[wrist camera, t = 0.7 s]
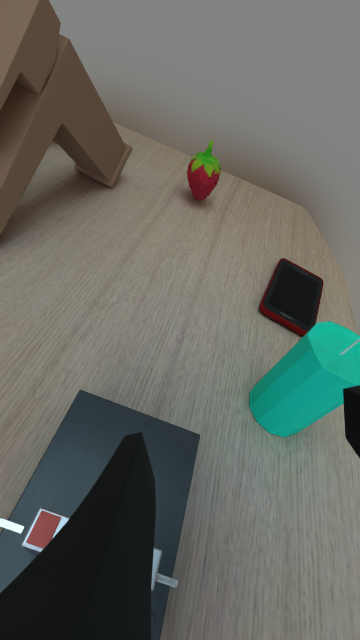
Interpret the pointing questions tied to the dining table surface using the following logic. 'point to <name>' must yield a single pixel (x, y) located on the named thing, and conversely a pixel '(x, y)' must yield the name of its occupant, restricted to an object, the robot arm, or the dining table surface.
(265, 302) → the cell phone
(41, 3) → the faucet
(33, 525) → the tap handle
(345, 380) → the candle
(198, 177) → the strawberry
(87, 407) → the plate
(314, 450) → the dining table surface
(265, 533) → the dining table surface
